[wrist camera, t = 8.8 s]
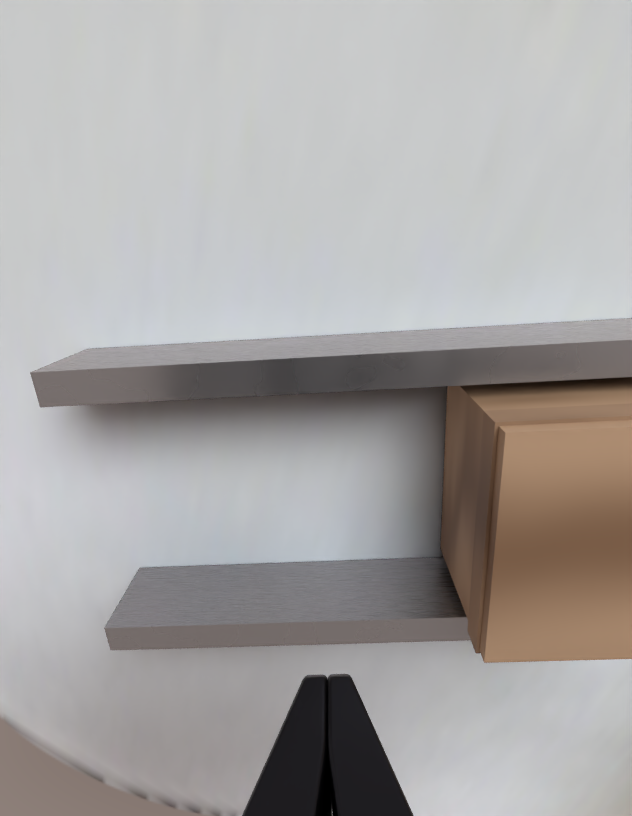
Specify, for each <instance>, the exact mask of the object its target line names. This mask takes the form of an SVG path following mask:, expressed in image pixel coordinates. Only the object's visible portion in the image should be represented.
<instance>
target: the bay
mask: <svg viewBox="0 0 632 816" xmlns="http://www.w3.org/2000/svg"><path fill="white" fill-rule="evenodd" d="M30 374H31V377H32V380H33V384H34V387H35V391H36V394H37V398H38V401H39V405H40V407H54V406H73V405H93V404H112V403H132V402H152V401H171V400H191V399H210V398H230V397H249V396H269V395H288V394H308V393H327V392H347V391H366V390H386V389H405V388H425V387H445V386H464V385H484V384H503V383H523V382H542V381H562V380H581V379H601V378H620V377H632V318H627V319H609V320H591V321H574V322H556V323H538V324H521V325H503V326H485V327H468V328H450V329H432V330H414V331H397V332H379V333H361V334H344V335H326V336H308V337H291V338H273V339H255V340H238V341H220V342H202V343H184V344H167V345H149V346H131V347H114V348H96V349H86V350H83V351H81V352H79V353H76V354H74V355H71V356H69V357H66V358H64V359H62V360H59V361H57V362H54V363H52V364H50V365H47V366H45V367H42V368H40V369H38V370H35V371H33V372H30ZM104 629H105V632H106V635H107V639H108V642H109V646H110V649H111V650H136V649H172V648H208V647H244V646H280V645H316V644H352V643H388V642H424V641H460V640H471V639H470V636H469V633H468V631H467V630H468V619H467V616H466V614H465V611H464V608H463V606H462V603H461V601H460V598H459V595H458V593H457V590H456V588H455V585H454V582H453V580H452V577H451V575H450V572H449V569H448V567H447V564H446V562H445V559H444V557H434V558H406V559H378V560H350V561H321V562H293V563H265V564H237V565H209V566H180V567H152V568H139V570H138V572H137V573H136V575H135V577H134V578H133V580H132V582H131V583H130V585H129V587H128V589H127V590H126V592H125V594H124V595H123V597H122V599H121V601H120V602H119V604H118V606H117V607H116V609H115V611H114V612H113V614H112V616H111V618H110V619H109V621H108V623H107V624H106V626H105V628H104Z"/></svg>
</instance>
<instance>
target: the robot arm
mask: <svg viewBox="0 0 632 816" xmlns="http://www.w3.org/2000/svg"><path fill="white" fill-rule="evenodd" d="M332 813H333V816H413V813H412V811H411V809H410V807H409V804H408V802H407V800H406V798H405V796H404V793H403V791H402V789H401V787H400V784H399V782H398V780H397V778H396V775H395V773H394V771H393V769H392V767H391V764H390V762H389V760H388V758H387V755H386V753H385V751H384V749H383V747H382V744H381V742H380V740H379V738H378V735H377V733H376V731H375V729H374V727H373V724H372V722H371V720H370V718H369V715H368V713H367V711H366V709H365V706H364V704H363V702H362V700H361V698H360V695H359V693H358V691H357V689H356V686H355V684H354V682H353V680H352V678H351V677H350V675H348V674H332V675H330V676H329V677H328V680H327V677H326V676H325V675H307V676H305V677H304V679H303V681H302V683H301V685H300V687H299V689H298V692H297V694H296V696H295V698H294V701H293V703H292V705H291V707H290V710H289V712H288V714H287V716H286V719H285V721H284V723H283V725H282V727H281V730H280V732H279V734H278V736H277V739H276V741H275V743H274V745H273V748H272V750H271V752H270V754H269V757H268V759H267V761H266V763H265V766H264V768H263V770H262V772H261V774H260V777H259V779H258V781H257V783H256V786H255V788H254V790H253V792H252V795H251V797H250V799H249V801H248V804H247V806H246V808H245V810H244V813H243V815H242V816H332Z"/></svg>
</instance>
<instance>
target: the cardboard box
mask: <svg viewBox="0 0 632 816" xmlns="http://www.w3.org/2000/svg"><path fill="white" fill-rule="evenodd" d="M441 551H442V554H443V556H444V559H445V562H446V564H447V567H448V569H449V572H450V575H451V577H452V580H453V582H454V585H455V588H456V590H457V593H458V595H459V598H460V601H461V603H462V606H463V608H464V611H465V614H466V616H467V619H468V630H467V631H468V633H469V636H470V639H471V641H472V644H473V647H474V649H475V652H476V653H481V655H482V658H483V661H484V663H487V662H526V661H565V660H604V659H632V377H620V378H601V379H581V380H562V381H542V382H523V383H503V384H484V385H464V386H447V406H446V430H445V453H444V477H443V500H442V524H441Z"/></svg>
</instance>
